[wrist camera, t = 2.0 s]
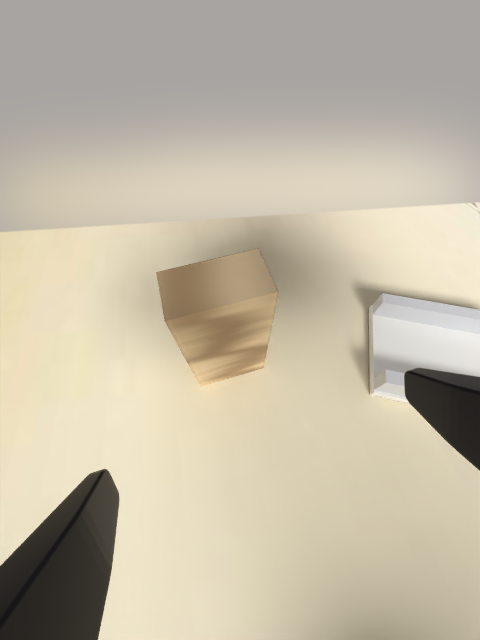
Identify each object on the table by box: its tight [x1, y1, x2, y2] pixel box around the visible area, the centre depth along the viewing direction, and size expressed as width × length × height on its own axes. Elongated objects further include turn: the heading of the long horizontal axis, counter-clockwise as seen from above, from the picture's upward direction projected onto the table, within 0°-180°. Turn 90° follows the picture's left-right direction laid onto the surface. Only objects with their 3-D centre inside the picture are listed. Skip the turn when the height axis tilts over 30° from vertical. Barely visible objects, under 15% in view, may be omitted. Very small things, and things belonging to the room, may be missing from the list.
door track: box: [369, 293, 480, 404], centre depth 21 cm, size 11×8×3 cm
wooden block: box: [156, 249, 278, 386], centre depth 18 cm, size 6×3×11 cm, turn 107°
